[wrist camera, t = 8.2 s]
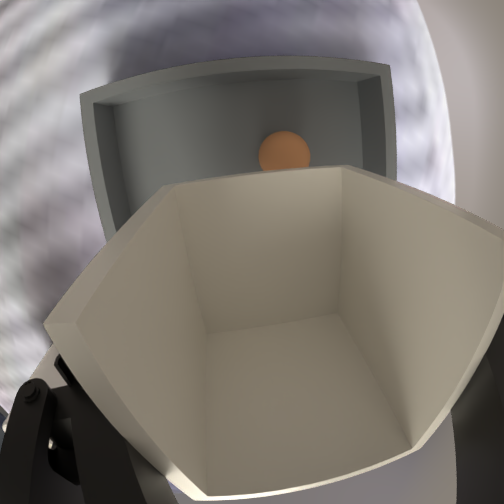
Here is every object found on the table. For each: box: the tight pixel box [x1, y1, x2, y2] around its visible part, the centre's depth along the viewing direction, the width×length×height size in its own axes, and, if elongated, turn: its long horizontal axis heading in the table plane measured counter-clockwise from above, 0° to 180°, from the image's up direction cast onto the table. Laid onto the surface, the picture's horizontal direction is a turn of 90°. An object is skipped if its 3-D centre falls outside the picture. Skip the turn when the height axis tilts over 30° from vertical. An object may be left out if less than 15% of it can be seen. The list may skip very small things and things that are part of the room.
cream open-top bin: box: [43, 165, 504, 500], centre depth 9 cm, size 8×8×9 cm
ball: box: [258, 131, 310, 171], centre depth 15 cm, size 3×3×3 cm
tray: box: [80, 56, 397, 242], centre depth 17 cm, size 18×18×4 cm
